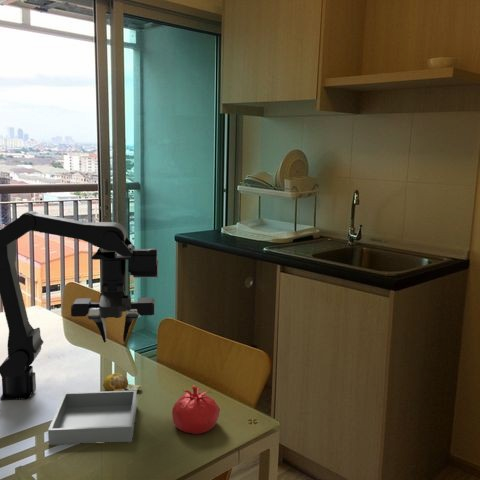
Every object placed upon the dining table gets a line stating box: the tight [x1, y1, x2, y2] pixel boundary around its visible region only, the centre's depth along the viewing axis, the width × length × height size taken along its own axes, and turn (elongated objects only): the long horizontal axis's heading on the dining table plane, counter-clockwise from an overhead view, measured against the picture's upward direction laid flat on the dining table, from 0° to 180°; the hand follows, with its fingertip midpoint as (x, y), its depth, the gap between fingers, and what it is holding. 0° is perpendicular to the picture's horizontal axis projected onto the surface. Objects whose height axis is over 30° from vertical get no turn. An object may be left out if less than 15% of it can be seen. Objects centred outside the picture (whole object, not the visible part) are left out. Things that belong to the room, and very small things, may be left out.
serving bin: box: [47, 390, 138, 446], centre depth 114 cm, size 16×16×4 cm
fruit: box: [102, 372, 142, 391], centre depth 130 cm, size 8×8×4 cm
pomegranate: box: [171, 384, 221, 435], centre depth 114 cm, size 10×10×9 cm
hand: (114, 341), depth 127 cm, fingers open, 4 cm apart
